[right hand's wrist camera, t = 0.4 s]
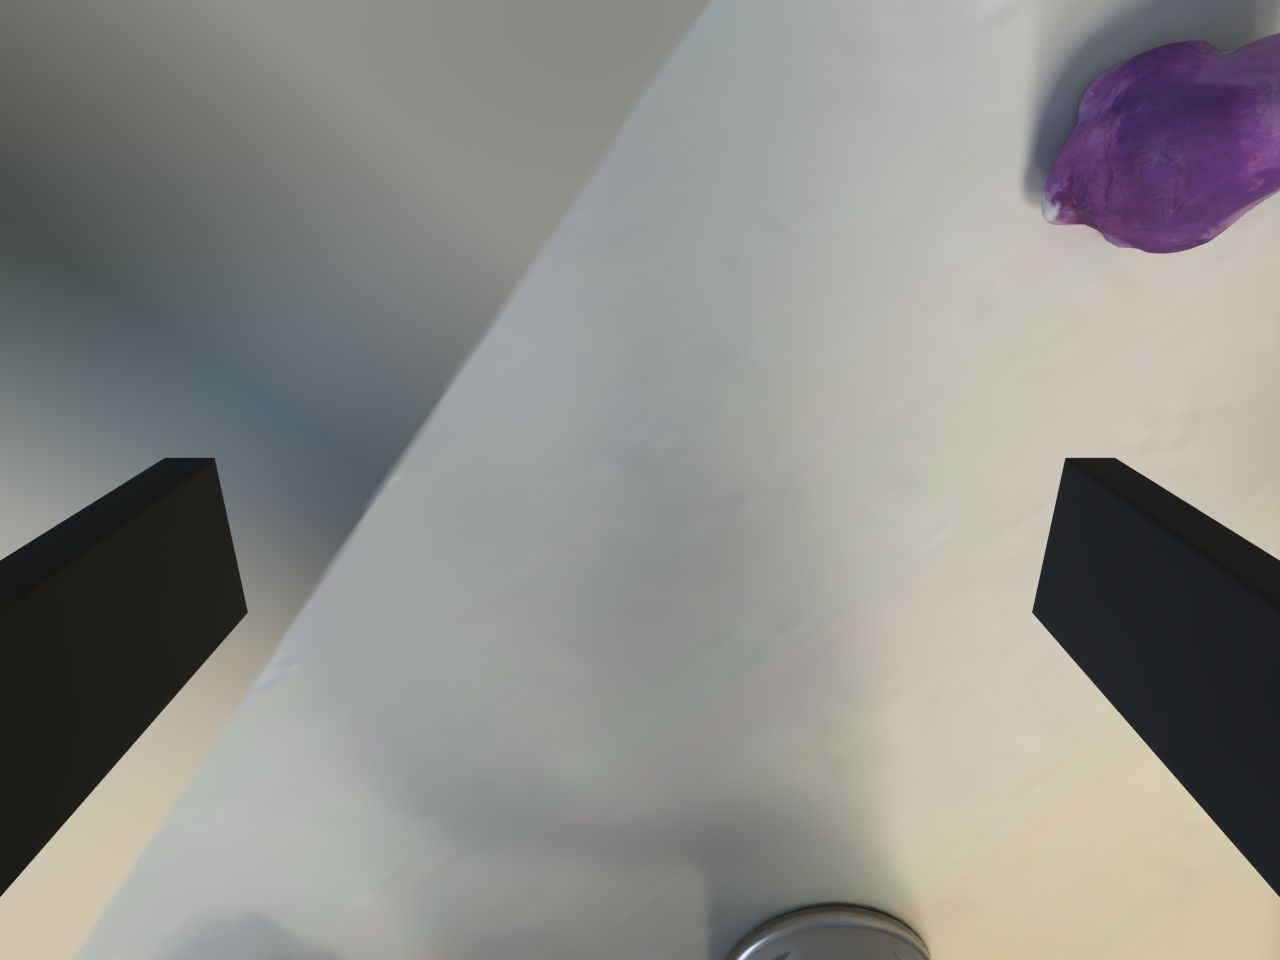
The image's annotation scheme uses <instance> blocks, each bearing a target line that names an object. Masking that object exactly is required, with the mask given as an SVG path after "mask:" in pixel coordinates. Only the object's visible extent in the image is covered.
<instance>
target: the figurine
mask: <svg viewBox="0 0 1280 960" xmlns="http://www.w3.org/2000/svg"><path fill="white" fill-rule="evenodd" d="M1279 191H1280V33H1278V34H1275V35H1271V36H1267V37H1264V38H1262V39H1259V40H1257V41H1255V42H1252V43H1250V44H1248V45H1246V46H1244V47H1242V48H1240V49H1238V50H1232V51H1224V52H1218V51H1217V50H1216V49H1215V48H1214V47H1212V46H1211V45H1210V44H1209V43H1207V42H1204V41H1184V42H1176V43H1171V44H1167V45H1163V46H1160V47H1157V48H1155V49H1152V50H1149V51H1146V52H1144V53H1142V54H1140V55H1138V56H1135V57H1134V58H1132V59H1129V60H1127V61H1125V62H1122V63H1120V64H1117V65H1115V66H1113V67H1112V68H1110V69H1108V70H1106V71H1105V72H1103V73H1101V74H1099V75H1098V76H1097V78H1096V79H1095V80H1094V81H1093V82H1092V83H1091V84H1090V85H1089V86H1088V87H1087V88H1086V90H1085V93H1084V95H1083V97H1082V100H1081V103H1080V106H1079V109H1078V120H1077V123H1076V125H1075V128H1074V130H1073V132H1072V133H1071V135H1070V136H1069V137H1068V139H1067V140H1066V142H1065V144H1064V145H1063V147H1062V148H1061V151H1060V153H1059V155H1058V157H1057V160H1056V162H1055V164H1054V166H1053V168H1052V171H1051V173H1050V175H1049V177H1048V179H1047V182H1046V184H1045V187H1044V190H1043V196H1042V214H1043V218H1044V219H1045V221H1046V222H1048V223H1050V224H1053V225H1073V224H1085V225H1087V226H1090V227H1092V228H1094V229H1096V230H1098V231H1100V232H1102V234H1103V236H1104V238H1105V239H1106V240H1107V241H1108V242H1110V243H1112V244H1114V245H1115V246H1117V247H1125V248H1136V249H1140V250H1142V251H1145V252H1149V253H1174V252H1180V251H1184V250H1188V249H1191V248H1194V247H1197V246H1199V245H1202V244H1205V243H1207V242H1209V241H1210V240H1212V239H1214V238H1215V237H1216V236H1218V235H1219V234H1220V233H1222V232H1223V231H1224V230H1226V229H1227V228H1228V227H1230V226H1231V225H1232V224H1234V223H1235V222H1236V221H1237V220H1238V219H1239V218H1241V217H1242V216H1243V215H1244V214H1245V213H1247V212H1248V211H1250V210H1251V209H1252V208H1254V207H1255V206H1257V205H1258V204H1260V203H1261V202H1263V201H1264V200H1266V199H1267V198H1269V197H1270V196H1272V195H1274V194H1275V193H1277V192H1279Z"/></svg>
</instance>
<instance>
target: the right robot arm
mask: <svg viewBox="0 0 1280 960" xmlns="http://www.w3.org/2000/svg"><path fill="white" fill-rule="evenodd" d="M247 613H248V611H247V606H246V602H245V597H244V592H243V588H242V583H241V579H240V574H239V569H238V565H237V560H236V555H235V551H234V546H233V542H232V537H231V532H230V527H229V523H228V518H227V514H226V509H225V504H224V500H223V495H222V490H221V486H220V481H219V476H218V472H217V467H216V463H215V458H164V459H162V460H161V461H159V462H158V463H156V464H154V465H153V466H151V467H150V468H148V469H146V470H145V471H143V472H142V473H140V474H138V475H137V476H135V477H134V478H132V479H130V480H129V481H127V482H126V483H124V484H122V485H121V486H119V487H118V488H116V489H114V490H113V491H111V492H109V493H108V494H106V495H105V496H103V497H102V498H100V499H98V500H97V501H95V502H93V503H92V504H90V505H89V506H87V507H85V508H84V509H82V510H81V511H79V512H78V513H76V514H74V515H73V516H71V517H69V518H68V519H66V520H65V521H63V522H61V523H60V524H58V525H57V526H55V527H53V528H52V529H50V530H49V531H47V532H45V533H44V534H42V535H41V536H39V537H37V538H36V539H34V540H32V541H31V542H29V543H28V544H26V545H24V546H23V547H21V548H20V549H18V550H17V551H15V552H13V553H12V554H10V555H8V556H7V557H5V558H4V559H2V560H0V897H1V896H2V894H3V893H4V892H5V891H6V890H7V889H8V888H9V886H10V885H11V884H12V883H13V882H14V881H15V879H16V878H17V877H18V876H19V875H20V874H21V873H22V871H23V870H24V869H25V868H26V867H27V866H28V864H29V863H30V862H31V861H32V860H33V859H34V858H35V856H36V855H37V854H38V853H39V852H40V851H41V850H42V848H43V847H44V846H45V845H46V844H47V843H48V842H49V840H50V839H51V838H52V837H53V836H54V835H55V833H56V832H57V831H58V830H59V829H60V828H61V827H62V825H63V824H64V823H65V822H66V821H67V820H68V818H69V817H70V816H71V815H72V814H73V813H74V812H75V811H76V809H77V808H78V807H79V806H80V805H81V804H82V802H83V801H84V800H85V799H86V798H87V797H88V796H89V794H90V793H91V792H92V791H93V790H94V789H95V787H96V786H97V785H98V784H99V783H100V782H101V781H102V779H103V778H104V777H105V776H106V775H107V774H108V773H109V771H110V770H111V769H112V768H113V767H114V766H115V765H116V763H117V762H118V761H119V760H120V759H121V758H122V756H123V755H124V754H125V753H126V752H127V751H128V750H129V748H130V747H131V746H132V745H133V744H134V743H135V741H136V740H137V739H138V738H139V737H140V736H141V735H142V733H143V732H144V731H145V730H146V729H147V728H148V727H149V725H150V724H151V723H152V722H153V721H154V720H155V719H156V717H157V716H158V715H159V714H160V713H161V712H162V710H163V709H164V708H165V707H166V706H167V705H168V704H169V702H170V701H171V700H172V699H173V698H174V697H175V696H176V694H177V693H178V692H179V691H180V690H181V689H182V688H183V686H184V685H185V684H186V683H187V682H188V681H189V679H190V678H191V677H192V676H193V675H194V674H195V673H196V671H197V670H198V669H199V668H200V667H201V666H202V664H203V663H204V662H205V661H206V660H207V659H208V658H209V656H210V655H211V654H212V653H213V652H214V651H215V650H216V648H217V647H218V646H219V645H220V644H221V643H222V642H223V640H224V639H225V638H226V637H227V636H228V635H229V634H230V632H231V631H232V630H233V629H234V628H235V627H236V625H237V624H238V623H239V622H240V621H241V620H242V619H243V617H244V616H245V615H246V614H247ZM1032 613H1033V614H1034V615H1035V616H1036V617H1037V619H1038V620H1039V621H1040V622H1041V623H1042V624H1043V625H1044V627H1045V628H1046V629H1047V630H1048V631H1049V632H1050V634H1051V635H1052V636H1053V637H1054V638H1055V639H1056V640H1057V642H1058V643H1059V644H1060V645H1061V646H1062V647H1063V648H1064V650H1065V651H1066V652H1067V653H1068V654H1069V655H1070V656H1071V658H1072V659H1073V660H1074V661H1075V662H1076V663H1077V665H1078V666H1079V667H1080V668H1081V669H1082V670H1083V671H1084V673H1085V674H1086V675H1087V676H1088V677H1089V678H1090V679H1091V681H1092V682H1093V683H1094V684H1095V685H1096V686H1097V688H1098V689H1099V690H1100V691H1101V692H1102V693H1103V694H1104V696H1105V697H1106V698H1107V699H1108V700H1109V701H1110V702H1111V704H1112V705H1113V706H1114V707H1115V708H1116V709H1117V711H1118V712H1119V713H1120V714H1121V715H1122V716H1123V717H1124V719H1125V720H1126V721H1127V722H1128V723H1129V724H1130V725H1131V727H1132V728H1133V729H1134V730H1135V731H1136V732H1137V734H1138V735H1139V736H1140V737H1141V738H1142V739H1143V740H1144V742H1145V743H1146V744H1147V745H1148V746H1149V747H1150V748H1151V750H1152V751H1153V752H1154V753H1155V754H1156V755H1157V757H1158V758H1159V759H1160V760H1161V761H1162V762H1163V763H1164V765H1165V766H1166V767H1167V768H1168V769H1169V770H1170V771H1171V773H1172V774H1173V775H1174V776H1175V777H1176V778H1177V779H1178V781H1179V782H1180V783H1181V784H1182V785H1183V786H1184V788H1185V789H1186V790H1187V791H1188V792H1189V793H1190V794H1191V796H1192V797H1193V798H1194V799H1195V800H1196V801H1197V802H1198V804H1199V805H1200V806H1201V807H1202V808H1203V809H1204V811H1205V812H1206V813H1207V814H1208V815H1209V816H1210V817H1211V819H1212V820H1213V821H1214V822H1215V823H1216V824H1217V825H1218V827H1219V828H1220V829H1221V830H1222V831H1223V832H1224V834H1225V835H1226V836H1227V837H1228V838H1229V839H1230V840H1231V842H1232V843H1233V844H1234V845H1235V846H1236V847H1237V848H1238V850H1239V851H1240V852H1241V853H1242V854H1243V855H1244V857H1245V858H1246V859H1247V860H1248V861H1249V862H1250V863H1251V865H1252V866H1253V867H1254V868H1255V869H1256V870H1257V871H1258V873H1259V874H1260V875H1261V876H1262V877H1263V878H1264V879H1265V881H1266V882H1267V883H1268V884H1269V885H1270V886H1271V888H1272V889H1273V890H1274V891H1275V892H1276V893H1277V894H1278V896H1279V897H1280V560H1278V559H1276V558H1275V557H1273V556H1272V555H1270V554H1268V553H1267V552H1265V551H1264V550H1262V549H1260V548H1259V547H1257V546H1256V545H1254V544H1252V543H1251V542H1249V541H1248V540H1246V539H1244V538H1243V537H1241V536H1239V535H1238V534H1236V533H1235V532H1233V531H1231V530H1230V529H1228V528H1227V527H1225V526H1223V525H1222V524H1220V523H1219V522H1217V521H1215V520H1214V519H1212V518H1211V517H1209V516H1207V515H1206V514H1204V513H1203V512H1201V511H1199V510H1198V509H1196V508H1195V507H1193V506H1191V505H1190V504H1188V503H1187V502H1185V501H1183V500H1182V499H1180V498H1179V497H1177V496H1175V495H1174V494H1172V493H1171V492H1169V491H1167V490H1166V489H1164V488H1163V487H1161V486H1159V485H1158V484H1156V483H1154V482H1153V481H1151V480H1150V479H1148V478H1146V477H1145V476H1143V475H1142V474H1140V473H1138V472H1137V471H1135V470H1134V469H1132V468H1130V467H1129V466H1127V465H1126V464H1124V463H1122V462H1121V461H1119V460H1118V459H1116V458H1065V463H1064V467H1063V472H1062V476H1061V481H1060V486H1059V490H1058V495H1057V500H1056V504H1055V509H1054V514H1053V518H1052V523H1051V527H1050V532H1049V537H1048V541H1047V546H1046V551H1045V555H1044V560H1043V565H1042V569H1041V574H1040V579H1039V583H1038V588H1037V592H1036V597H1035V602H1034V606H1033V611H1032ZM727 960H931V958H930V955H929V953H928V951H927V949H926V947H925V945H924V944H923V942H922V941H921V940H920V939H919V938H918V936H917V935H916V934H915V933H914V932H912V931H911V930H910V929H909V928H908V927H906V926H905V925H903V924H902V923H900V922H898V921H897V920H895V919H893V918H891V917H888V916H886V915H883V914H881V913H878V912H874V911H871V910H867V909H861V908H855V907H845V906H826V907H816V908H809V909H804V910H799V911H795V912H792V913H789V914H786V915H782V916H780V917H778V918H775V919H773V920H771V921H769V922H767V923H765V924H763V925H761V926H760V927H758V928H756V929H755V930H753V931H752V932H751V933H749V934H748V935H747V936H746V937H745V938H743V939H742V940H741V941H740V942H739V943H738V944H737V945H736V947H735V948H734V949H733V950H732V952H731V953H730V954H729V956H728V958H727Z"/></svg>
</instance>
